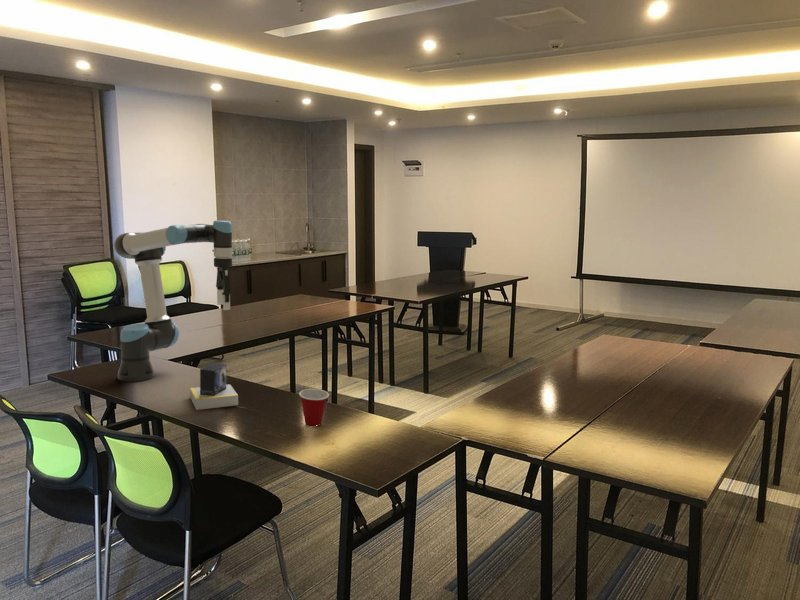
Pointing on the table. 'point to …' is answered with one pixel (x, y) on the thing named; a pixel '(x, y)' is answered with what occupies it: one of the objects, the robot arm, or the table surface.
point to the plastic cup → (313, 405)
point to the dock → (214, 398)
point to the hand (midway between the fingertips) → (223, 307)
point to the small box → (212, 379)
